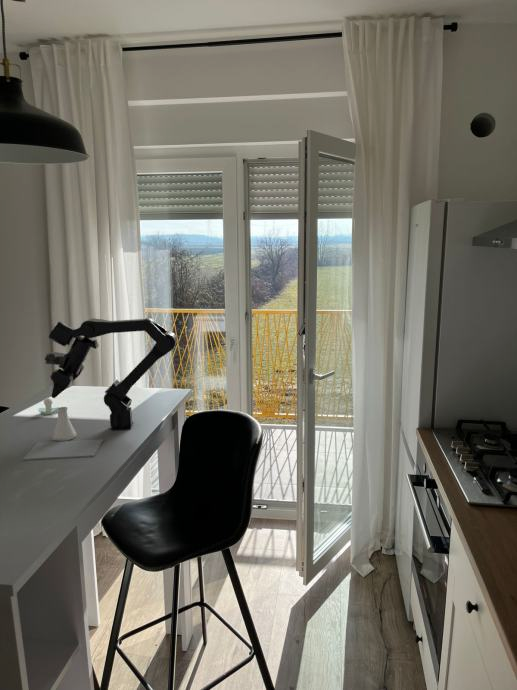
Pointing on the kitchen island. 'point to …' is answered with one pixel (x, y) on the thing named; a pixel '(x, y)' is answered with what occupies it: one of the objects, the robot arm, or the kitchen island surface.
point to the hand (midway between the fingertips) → (56, 393)
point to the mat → (64, 449)
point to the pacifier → (48, 407)
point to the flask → (63, 426)
